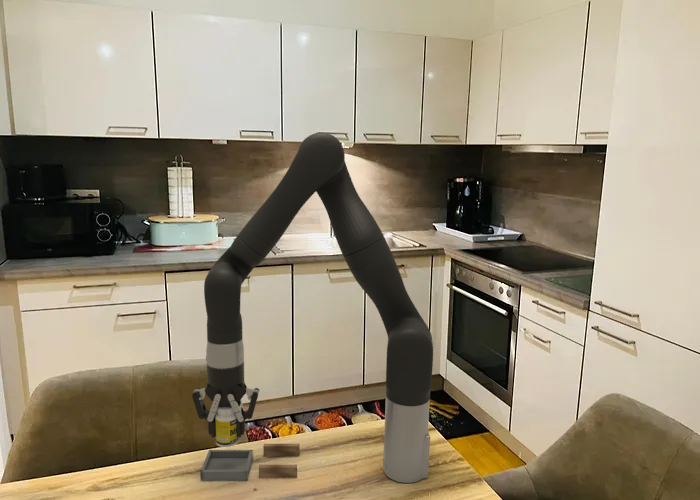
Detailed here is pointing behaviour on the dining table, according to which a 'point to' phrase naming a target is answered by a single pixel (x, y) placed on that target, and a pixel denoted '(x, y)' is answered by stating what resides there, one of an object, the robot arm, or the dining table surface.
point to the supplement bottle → (226, 427)
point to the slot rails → (279, 470)
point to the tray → (227, 465)
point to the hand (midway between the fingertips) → (226, 435)
